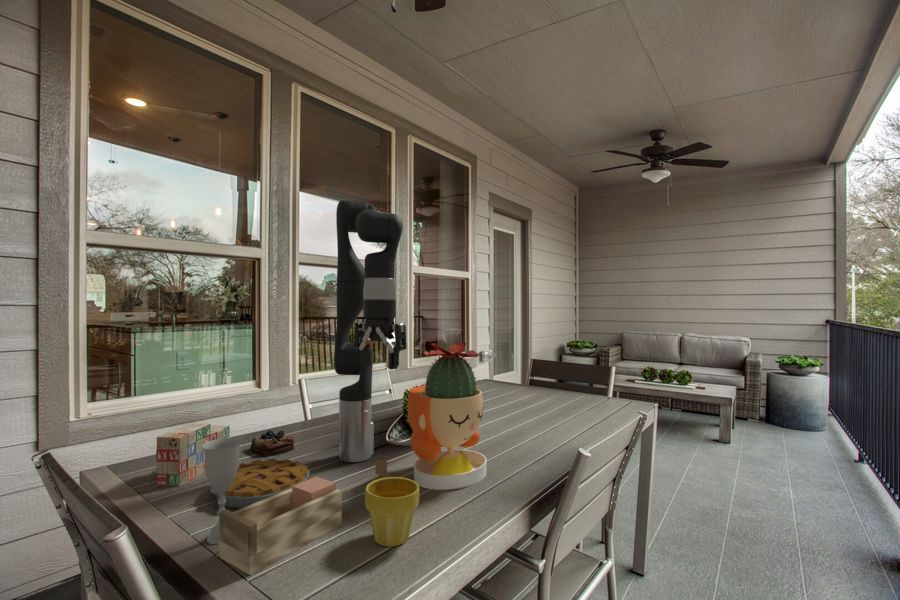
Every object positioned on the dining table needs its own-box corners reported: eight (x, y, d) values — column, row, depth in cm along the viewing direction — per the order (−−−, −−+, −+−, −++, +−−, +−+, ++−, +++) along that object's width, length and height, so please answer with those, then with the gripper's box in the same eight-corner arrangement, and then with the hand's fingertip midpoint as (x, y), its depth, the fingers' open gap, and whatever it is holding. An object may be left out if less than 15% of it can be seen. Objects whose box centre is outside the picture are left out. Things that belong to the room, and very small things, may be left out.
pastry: (263, 459, 129) (263, 439, 129) (246, 450, 137) (246, 431, 137) (298, 450, 137) (298, 431, 137) (280, 442, 145) (280, 424, 145)
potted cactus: (501, 471, 119) (501, 341, 120) (444, 497, 103) (444, 346, 103) (443, 452, 134) (444, 336, 134) (385, 473, 118) (386, 341, 118)
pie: (264, 519, 93) (264, 495, 93) (187, 503, 100) (187, 481, 100) (327, 480, 113) (327, 461, 113) (259, 469, 121) (259, 451, 121)
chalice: (211, 528, 89) (212, 438, 89) (247, 526, 89) (247, 437, 90) (193, 548, 82) (194, 450, 82) (232, 546, 82) (232, 449, 82)
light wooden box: (310, 513, 95) (311, 475, 95) (341, 525, 90) (341, 485, 90) (219, 557, 79) (219, 511, 79) (250, 575, 73) (250, 526, 74)
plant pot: (420, 523, 91) (420, 475, 91) (418, 552, 80) (418, 497, 81) (369, 524, 90) (369, 476, 91) (360, 553, 80) (360, 498, 80)
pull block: (375, 477, 110) (376, 452, 110) (394, 483, 106) (394, 457, 106) (292, 517, 89) (292, 486, 89) (311, 525, 86) (311, 493, 86)
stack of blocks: (210, 456, 131) (210, 414, 131) (230, 457, 130) (230, 415, 130) (155, 486, 110) (155, 436, 110) (179, 487, 109) (179, 436, 109)
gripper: (413, 298, 103) (413, 368, 103) (368, 298, 111) (368, 363, 111) (392, 297, 97) (392, 372, 96) (346, 298, 104) (345, 367, 104)
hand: (379, 367), depth 104 cm, fingers open, 8 cm apart
